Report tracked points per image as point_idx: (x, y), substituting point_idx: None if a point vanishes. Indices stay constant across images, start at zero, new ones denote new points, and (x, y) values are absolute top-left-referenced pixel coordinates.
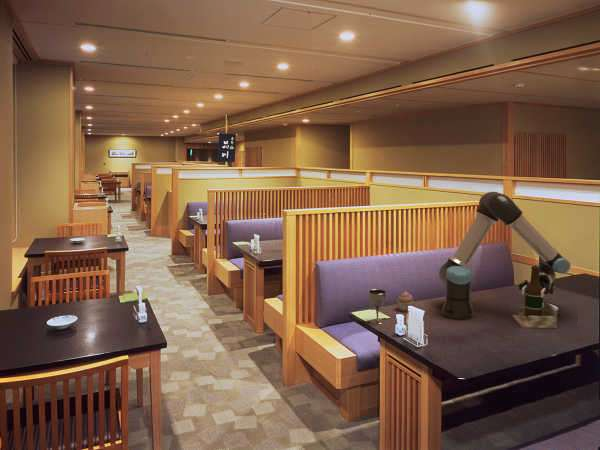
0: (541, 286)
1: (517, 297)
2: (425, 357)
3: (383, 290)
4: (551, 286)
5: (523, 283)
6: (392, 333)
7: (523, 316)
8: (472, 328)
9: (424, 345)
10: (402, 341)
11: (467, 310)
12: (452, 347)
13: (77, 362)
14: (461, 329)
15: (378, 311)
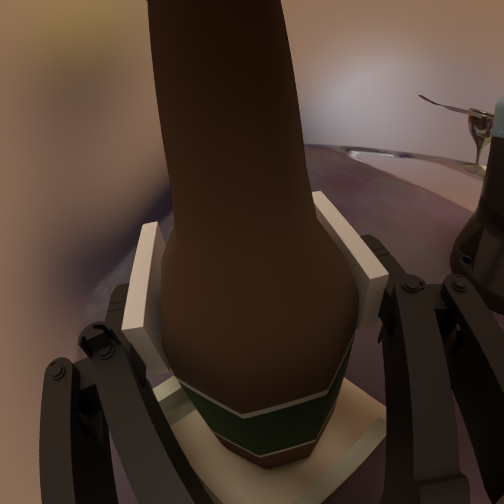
0: (163, 284)
1: None
2: (314, 144)
3: (491, 117)
4: (62, 482)
5: (479, 340)
6: (417, 157)
7: (345, 442)
8: (379, 230)
9: (350, 155)
10: (380, 151)
11: (464, 241)
12: (316, 166)
13: (427, 99)
14: (386, 213)
15: (477, 150)
